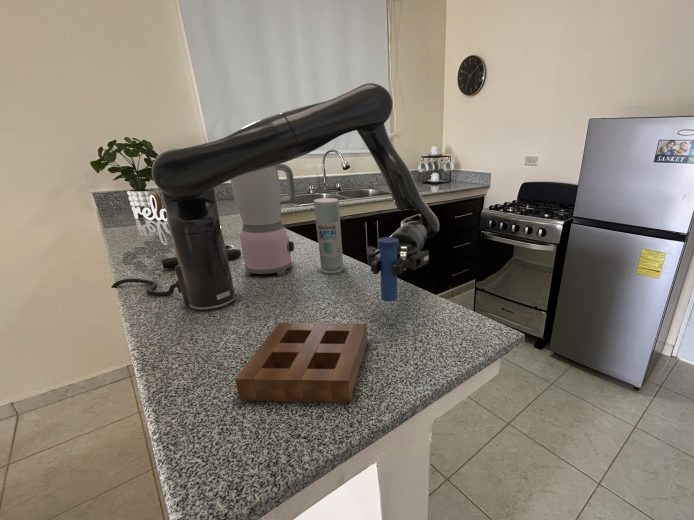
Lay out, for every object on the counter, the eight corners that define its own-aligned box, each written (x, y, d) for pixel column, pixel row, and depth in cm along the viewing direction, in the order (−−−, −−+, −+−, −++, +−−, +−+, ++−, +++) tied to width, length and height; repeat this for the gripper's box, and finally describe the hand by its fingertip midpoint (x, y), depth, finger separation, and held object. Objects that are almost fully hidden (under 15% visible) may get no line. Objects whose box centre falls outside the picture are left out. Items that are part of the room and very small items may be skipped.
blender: (239, 278, 93) (213, 152, 81) (253, 263, 104) (232, 150, 92) (300, 276, 96) (284, 153, 84) (307, 261, 107) (294, 150, 95)
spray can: (345, 265, 104) (339, 198, 97) (342, 273, 99) (337, 202, 91) (322, 265, 104) (315, 198, 96) (319, 273, 98) (311, 202, 90)
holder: (239, 401, 51) (234, 378, 50) (282, 340, 66) (279, 322, 65) (350, 402, 51) (348, 380, 50) (367, 342, 66) (366, 323, 65)
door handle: (160, 249, 107) (161, 261, 95) (232, 240, 118) (241, 249, 106) (162, 260, 108) (164, 272, 96) (234, 249, 119) (243, 259, 107)
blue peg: (378, 302, 67) (376, 242, 63) (380, 293, 71) (379, 236, 66) (398, 302, 67) (397, 243, 63) (399, 294, 71) (399, 237, 66)
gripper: (375, 225, 79) (346, 247, 63) (437, 230, 77) (422, 254, 61) (376, 257, 82) (349, 285, 66) (435, 262, 80) (421, 292, 64)
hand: (384, 270), depth 64 cm, fingers closed on blue peg, 3 cm apart
